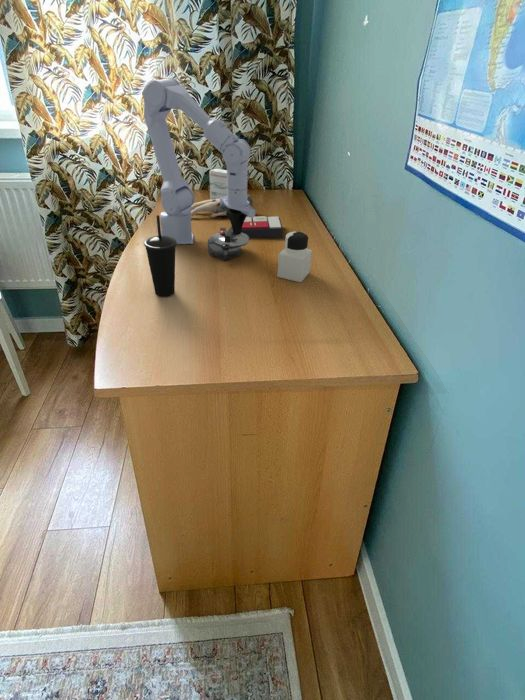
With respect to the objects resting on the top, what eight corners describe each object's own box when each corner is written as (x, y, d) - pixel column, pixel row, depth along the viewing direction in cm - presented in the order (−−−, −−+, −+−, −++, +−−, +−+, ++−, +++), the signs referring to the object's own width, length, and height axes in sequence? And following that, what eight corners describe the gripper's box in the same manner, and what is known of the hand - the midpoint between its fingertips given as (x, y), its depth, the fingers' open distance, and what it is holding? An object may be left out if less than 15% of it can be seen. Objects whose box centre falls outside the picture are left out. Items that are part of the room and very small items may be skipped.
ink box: (235, 202, 178) (235, 170, 171) (229, 205, 174) (229, 173, 167) (215, 198, 180) (215, 167, 174) (209, 202, 177) (208, 170, 170)
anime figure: (167, 199, 163) (249, 186, 167) (171, 219, 168) (251, 206, 171) (168, 208, 156) (254, 194, 159) (173, 228, 160) (256, 214, 163)
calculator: (235, 215, 156) (279, 214, 156) (236, 228, 158) (279, 226, 159) (236, 227, 147) (282, 226, 147) (237, 240, 149) (282, 238, 150)
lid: (243, 251, 130) (243, 242, 128) (206, 247, 131) (205, 237, 130) (252, 234, 141) (252, 226, 139) (218, 231, 142) (218, 222, 140)
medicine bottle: (309, 273, 129) (314, 232, 122) (300, 283, 124) (305, 241, 117) (286, 267, 132) (289, 227, 125) (276, 277, 126) (279, 235, 119)
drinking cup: (154, 302, 112) (146, 223, 100) (146, 288, 117) (136, 212, 106) (184, 296, 115) (179, 219, 103) (174, 283, 120) (168, 208, 109)
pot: (208, 261, 133) (208, 249, 131) (207, 237, 147) (207, 227, 145) (242, 260, 134) (242, 249, 132) (238, 237, 148) (238, 227, 146)
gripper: (264, 191, 125) (262, 238, 133) (233, 179, 135) (233, 224, 142) (243, 195, 122) (243, 244, 130) (213, 183, 131) (215, 229, 139)
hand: (237, 234), depth 136 cm, fingers closed, pressing on lid
